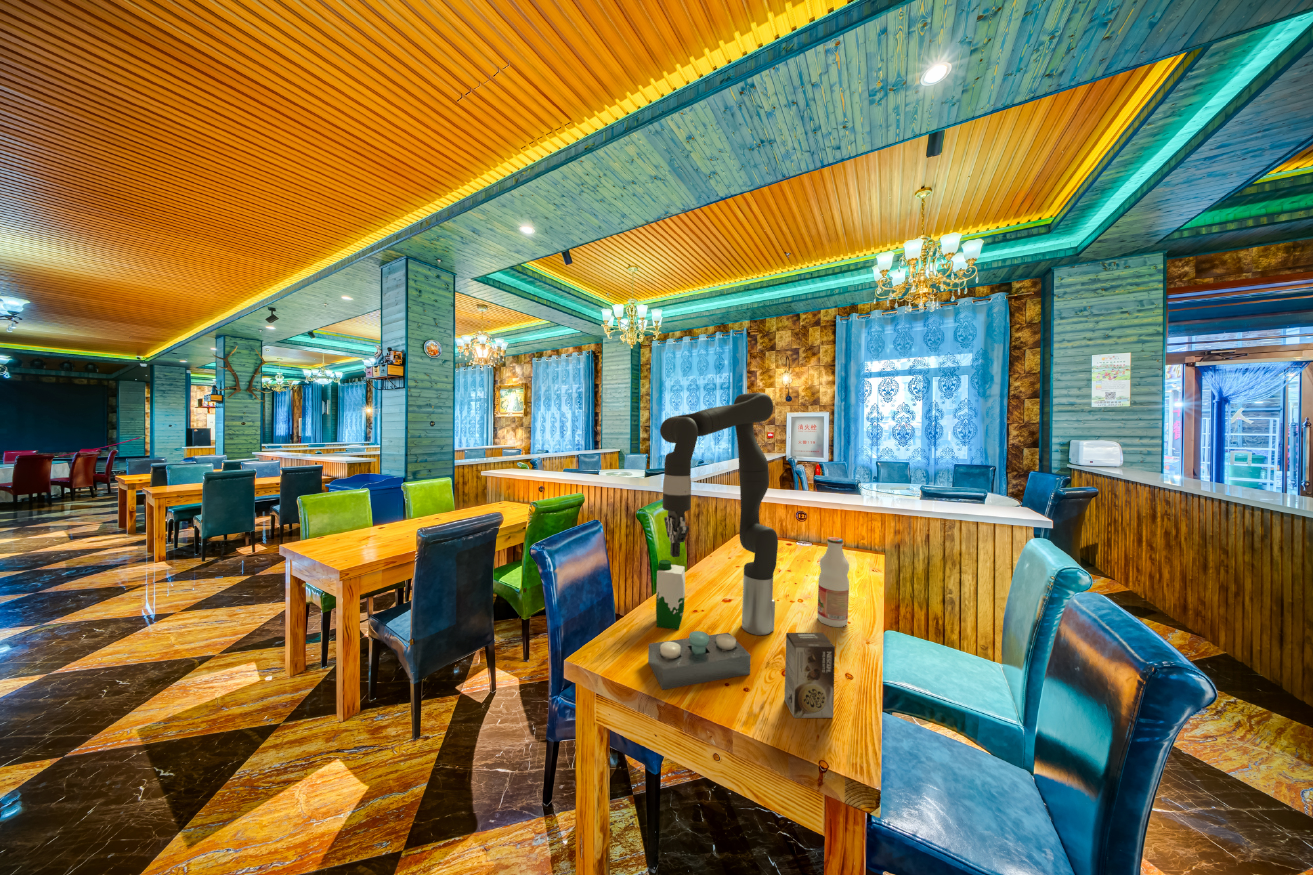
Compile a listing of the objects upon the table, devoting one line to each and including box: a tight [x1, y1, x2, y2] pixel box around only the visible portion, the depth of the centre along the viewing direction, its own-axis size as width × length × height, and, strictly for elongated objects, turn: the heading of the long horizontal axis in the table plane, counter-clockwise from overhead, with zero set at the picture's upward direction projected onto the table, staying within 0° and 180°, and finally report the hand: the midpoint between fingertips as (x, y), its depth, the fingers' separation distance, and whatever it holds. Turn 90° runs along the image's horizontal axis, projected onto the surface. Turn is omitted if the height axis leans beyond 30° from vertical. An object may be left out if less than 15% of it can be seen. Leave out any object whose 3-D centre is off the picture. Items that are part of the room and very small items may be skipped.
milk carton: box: [655, 559, 686, 631], centre depth 130 cm, size 9×9×20 cm
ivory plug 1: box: [660, 641, 681, 660], centre depth 104 cm, size 5×5×6 cm
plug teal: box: [688, 630, 710, 655], centre depth 106 cm, size 5×5×6 cm
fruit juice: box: [817, 536, 850, 628], centre depth 135 cm, size 9×9×28 cm
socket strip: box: [647, 632, 752, 691], centre depth 106 cm, size 24×12×5 cm, turn 108°
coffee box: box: [784, 632, 836, 719], centre depth 92 cm, size 9×6×16 cm
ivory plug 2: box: [716, 633, 737, 651], centre depth 109 cm, size 5×5×6 cm
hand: (674, 556), depth 108 cm, fingers closed
